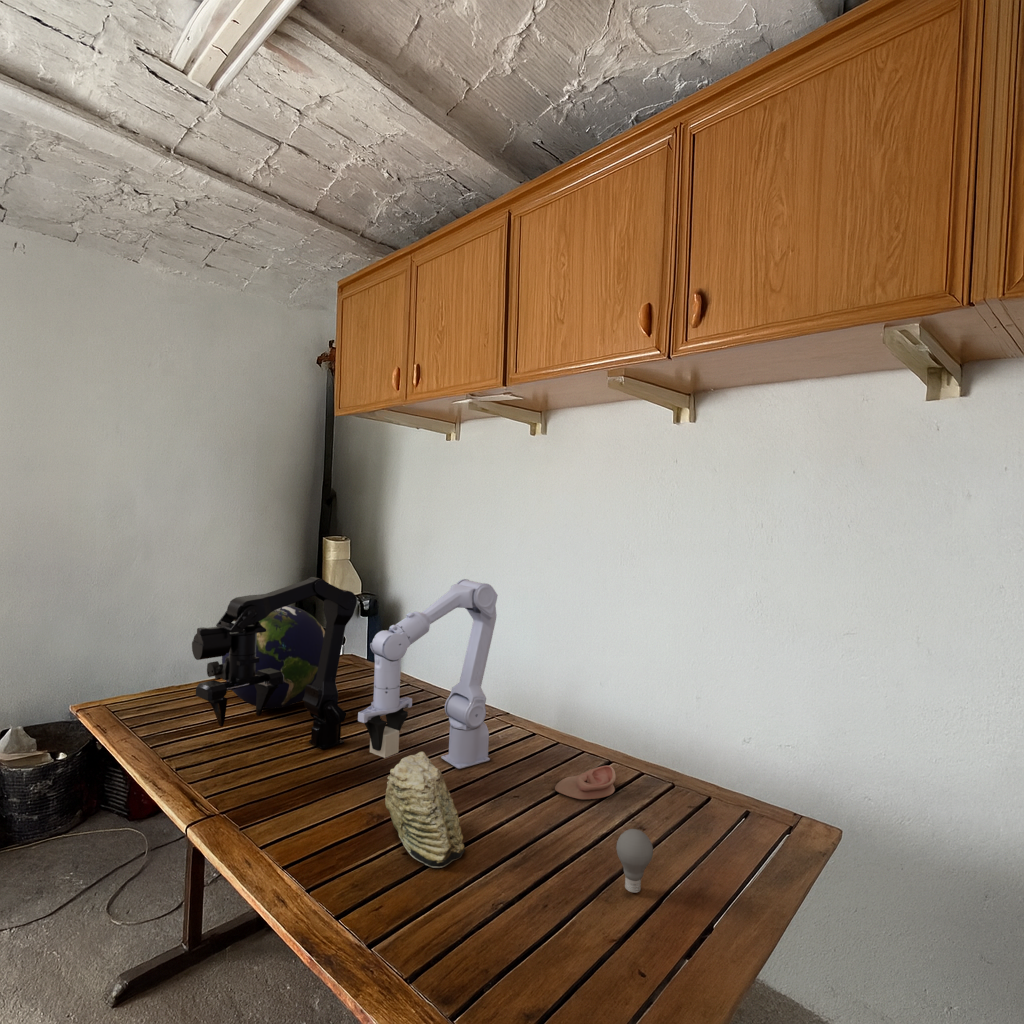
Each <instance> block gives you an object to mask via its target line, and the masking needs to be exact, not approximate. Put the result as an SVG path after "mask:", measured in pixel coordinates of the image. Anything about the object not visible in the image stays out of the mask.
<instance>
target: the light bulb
mask: <svg viewBox="0 0 1024 1024" xmlns="http://www.w3.org/2000/svg"><path fill="white" fill-rule="evenodd" d="M615 849H616V854H617V857H618V859H619V861H620V863H621V865H622V867H623V873H624V874H623V875H624V876H625V878H624V888H625V890H627V891H628V892H630V893H634V894H635V893H639V892H640V891H641V889H642V887H641V886H642V879H643V877H644V875H645V871H646V868H647V867H648V866H649V864H650V863H651V861H652V859H653V855H654V847H653V843H652V841H651V838H649V836H648V835H647V834H646V833H645V832H643V831H642V830H641V829H636V828H629V829H627V830H625V831H623V832H622V833H621V834H620V835H619V837H618V839H617V841H616V847H615Z"/></svg>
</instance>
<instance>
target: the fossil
mask: <svg viewBox="0 0 1024 1024" xmlns="http://www.w3.org/2000/svg"><path fill="white" fill-rule="evenodd" d="M389 773H390V774H389V775H388V776H387V780H388V781H387V782H386V789H385V798H384V800H385V802H384V804H385V807H386V810H387V811H388V812H389V814H390V815H389V816H390V818H391V822H392V825H393V827H394V828H395V830H396V831H397V833H398V834H397V835H398V838H399V839H400V842H402V845H403V847H404V848H405V850H406V851H407V853H408V854H409V855H410V856H411V857H412V858H413V859H415V860H416V861H418V862H420V863H422V864H423V865H424V866H428V867H430V868H433V869H440V868H441V869H442V868H444V867H447V866H448V865H450V864H451V863H452V862H453V861H457V860H459V859H461V857H462V856H463V854H464V853H465V852H466V848H465V844H464V835H463V833H462V826H461V820H460V817H459V812H458V809H457V808H456V806H455V803H454V799H453V798H452V795H451V792H450V791H449V789H448V787H447V783H446V781H445V778H444V775H443V773H442V770H441V769H440V768H437V767H436V766H435V764H434V763H433V762H432V760H431V759H430V758H429V757H428V756H427V754H426V753H425V752H424V751H419V752H417V753H416V754H410V755H408V756H405V757H403V758H401V759H400V761H399V762H398V763H397V764H396V765H395V766H394V768H390V771H389Z"/></svg>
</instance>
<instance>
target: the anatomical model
mask: <svg viewBox="0 0 1024 1024" xmlns="http://www.w3.org/2000/svg"><path fill="white" fill-rule="evenodd" d="M616 778H617V775H616V772H615V769H614V768H613V767H612V766H611V765H601V766H597V767H594V768H592V769H589V770H587V771H585V772H583V773H580V774H578V775H572V776H567V777H564V778H562V780H560V781H559V782H557V784H556V785H555V786H554V790H555V791H556V792H557V793H559V794H561V795H563V796H567V797H569V798H573V799H576V800H596V799H603V798H606V797H609V796H611V795H613V794H614V793H615V791H616V788H615V785H614V783H615V782H616Z"/></svg>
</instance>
